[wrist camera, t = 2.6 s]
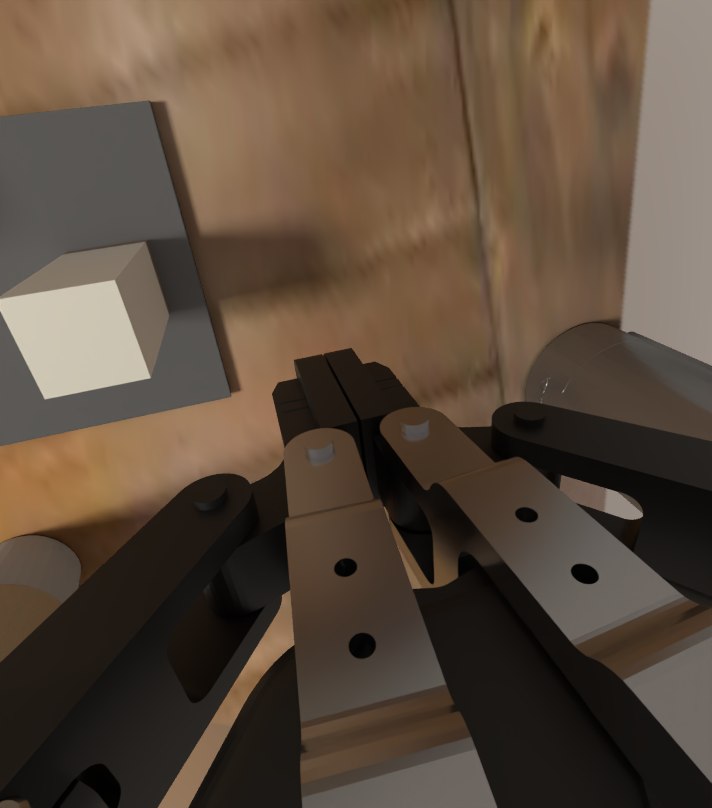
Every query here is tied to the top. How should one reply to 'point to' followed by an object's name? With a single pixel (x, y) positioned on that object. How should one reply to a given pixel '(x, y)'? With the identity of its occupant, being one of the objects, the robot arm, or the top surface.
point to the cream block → (89, 319)
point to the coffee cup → (32, 585)
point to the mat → (90, 228)
